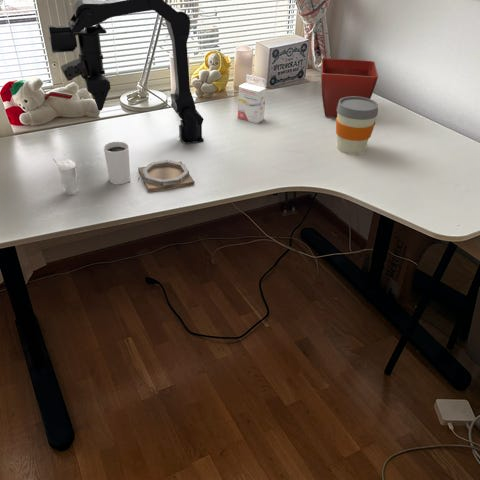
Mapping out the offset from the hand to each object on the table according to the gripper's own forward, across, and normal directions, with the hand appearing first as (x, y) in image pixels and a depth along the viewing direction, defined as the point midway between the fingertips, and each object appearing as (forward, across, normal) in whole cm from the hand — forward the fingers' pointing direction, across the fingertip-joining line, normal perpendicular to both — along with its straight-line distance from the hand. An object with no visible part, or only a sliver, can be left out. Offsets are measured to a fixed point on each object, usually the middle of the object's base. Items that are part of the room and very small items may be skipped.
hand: (97, 104), depth 154 cm
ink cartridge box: (+15, -10, +53) cm, 56 cm away
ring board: (+15, +23, +14) cm, 31 cm away
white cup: (+15, +20, +1) cm, 25 cm away
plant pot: (+15, -6, +88) cm, 90 cm away
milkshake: (+15, +23, -13) cm, 30 cm away
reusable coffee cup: (+15, +22, +75) cm, 80 cm away
